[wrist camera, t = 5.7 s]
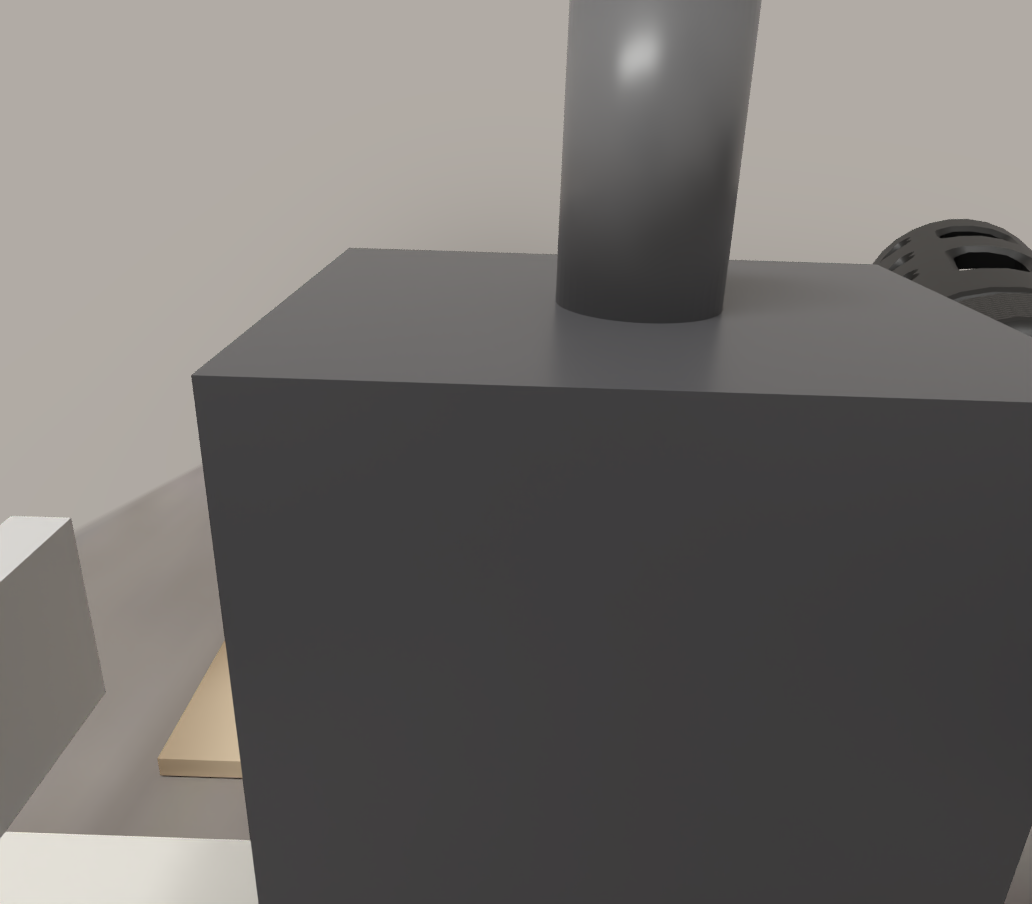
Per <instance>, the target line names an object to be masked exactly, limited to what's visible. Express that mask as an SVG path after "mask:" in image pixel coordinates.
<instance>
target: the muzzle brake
mask: <svg viewBox="0 0 1032 904" xmlns="http://www.w3.org/2000/svg"><path fill="white" fill-rule="evenodd" d="M873 265H879V266H881V267H883V268H886V269H888V270H890V271H892V272H894V273H896V274H898V275H900V276H903V277H905V278H907V279H909V280H911V281H913V282H915V283H918V284H920V285H922V286H924V287H926V288H928V289H930V290H932V291H935V292H937V293H939V294H941V295H943V296H945V297H947V298H949V299H952V300H954V301H956V302H958V303H960V304H962V305H964V306H967V307H969V308H971V309H973V310H975V311H977V312H979V313H981V314H984V315H986V316H988V317H990V318H992V319H994V320H996V321H998V322H1001V323H1003V324H1005V325H1007V326H1009V327H1011V328H1013V329H1015V330H1018V331H1020V332H1022V333H1024V334H1026V335H1028V336H1030V337H1032V250H1031V249H1029V248H1028V247H1027V246H1026V245H1025V244H1024V243H1023V242H1022V241H1021V240H1020V239H1018V238H1017V237H1016V236H1014V235H1012V234H1011V233H1009V232H1008V231H1006V230H1005V229H1003V228H1000V227H997V226H995V225H992V224H990V223H987V222H982V221H976V220H969V219H951V220H944V221H939V222H934V223H929V224H927V225H924V226H922V227H919V228H916V229H914V230H912V231H910V232H908V233H907V234H905V235H903V236H901V237H900V238H898V239H896V240H895V241H894V242H893V243H892V244H891V245H889V246H888V247H887V248H886V249H885V250H884V251H882V253H881V254H880V255H879V257H878V258H877V259H876V260H875V262H874V263H873ZM959 269H971V270H964V271H959Z"/></svg>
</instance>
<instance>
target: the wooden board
mask: <svg viewBox="0 0 1032 904" xmlns="http://www.w3.org/2000/svg"><path fill="white" fill-rule="evenodd" d="M158 764H159V770H160V775H168V776H197V777H227V778H242V770H241V762H240V754H239V746H238V738H237V731H236V723H235V715H234V707H233V699H232V691H231V683H230V675H229V668H228V660H227V652H226V644H225V641H224V643H223V644H222V646H221V648H220V650H219V651H218V653H217V655H216V657H215V658H214V660H213V662H212V664H211V665H210V667H209V669H208V671H207V672H206V674H205V676H204V678H203V679H202V681H201V683H200V685H199V687H198V688H197V690H196V692H195V694H194V695H193V697H192V699H191V701H190V702H189V704H188V706H187V708H186V709H185V711H184V713H183V715H182V716H181V718H180V720H179V722H178V723H177V725H176V727H175V729H174V731H173V732H172V734H171V736H170V738H169V739H168V741H167V743H166V745H165V746H164V748H163V750H162V752H161V753H160V755H159V757H158Z"/></svg>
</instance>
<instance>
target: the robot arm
mask: <svg viewBox="0 0 1032 904" xmlns="http://www.w3.org/2000/svg"><path fill="white" fill-rule="evenodd" d="M105 692H106V691H105V686H104V681H103V676H102V671H101V666H100V661H99V656H98V651H97V646H96V641H95V636H94V631H93V626H92V621H91V616H90V611H89V606H88V601H87V596H86V591H85V586H84V581H83V575H82V570H81V565H80V560H79V555H78V550H77V545H76V540H75V535H74V530H73V525H72V521H71V518H60V517H59V518H58V517H29V516H11V517H9V518H8V519H7V520H6V521H5V522H3V523H2V524H1V525H0V838H1V837H2V836H3V834H4V833H5V831H6V830H7V829H8V827H9V826H10V825H11V823H12V822H13V820H14V819H15V818H16V816H17V815H18V813H19V812H20V811H21V809H22V808H23V806H24V805H25V804H26V802H27V801H28V799H29V798H30V797H31V795H32V794H33V793H34V791H35V790H36V788H37V787H38V786H39V784H40V783H41V781H42V780H43V779H44V777H45V776H46V774H47V773H48V772H49V770H50V769H51V768H52V766H53V765H54V763H55V762H56V761H57V759H58V758H59V756H60V755H61V754H62V752H63V751H64V749H65V748H66V747H67V745H68V744H69V742H70V741H71V740H72V738H73V737H74V736H75V734H76V733H77V731H78V730H79V729H80V727H81V726H82V724H83V723H84V722H85V720H86V719H87V717H88V716H89V715H90V713H91V712H92V711H93V709H94V708H95V706H96V705H97V704H98V702H99V701H100V699H101V698H102V697H103V695H104V694H105Z"/></svg>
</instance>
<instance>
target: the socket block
mask: <svg viewBox="0 0 1032 904" xmlns="http://www.w3.org/2000/svg"><path fill="white" fill-rule="evenodd" d="M0 904H258V896H257V888H256V880H255V872H254V864H253V856H252V848H251V841H250V840H226V839H197V838H168V837H139V836H110V835H81V834H52V833H23V832H5V833H4V834H3V836H2V837H1V838H0Z"/></svg>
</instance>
